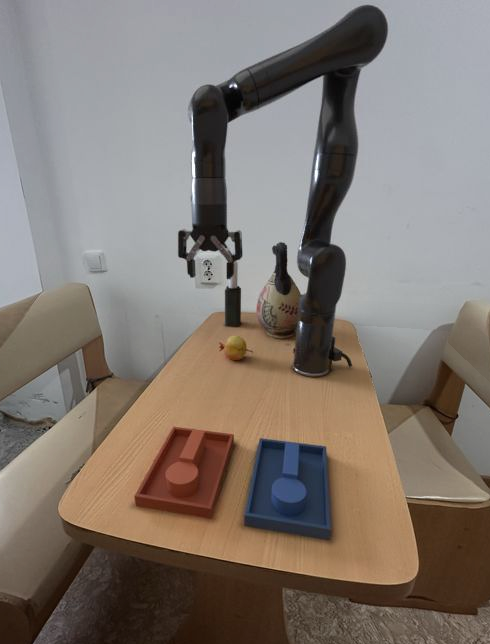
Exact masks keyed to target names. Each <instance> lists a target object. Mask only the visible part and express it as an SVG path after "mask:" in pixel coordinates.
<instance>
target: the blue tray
mask: <svg viewBox="0 0 490 644" xmlns="http://www.w3.org/2000/svg"><path fill="white" fill-rule="evenodd" d="M286 442H288V441H287V440H279V439H270V438H261V437H259V440H258V445H257V451H256V455H255V460H254V465H253V470H252V474H251V480H250V485H249V491H248V496H247V500H246V504H245V510H244V515H243V516H244V517H243V520H244V522H243V525H244V526H246V527H251V528H252V527H253V528H257V529H263V530H268V531H269V530H270V531H274V532H279V533H287V534H293V535H299V536H303V537H309V538H314V539H315V538H316V539H320V540H321V539H322V540H326V541H330V539H331V531H332V522H331V506H330V489H329V472H328V455H327V453H328V452H327V446H325V445H317V444H309V443H301V442H298V443H299V462H298V480H299V481H300V482H302V483H303V485H304V486H305V488H306V500H305V507H304V510H303V511H302V512H301V513H300V514H298V515H296V516H285V515H282V514H280V513H278V512H277V511H276V510H275V509H274V508H273V506H272V504H271V496H272V485H273V483H274V482H275V481H276V480H277V479H279V478H282V474H283V464H284V454H285V443H286ZM291 442H292V441H291ZM292 443H296V442H294V441H293V442H292Z"/></svg>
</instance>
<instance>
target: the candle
mask: <svg viewBox="0 0 490 644" xmlns="http://www.w3.org/2000/svg"><path fill="white" fill-rule="evenodd" d="M231 253H232V254H233V255H235V251H233V252H231ZM238 268H239V267H238V260H236V261H235V262H234V275H233V276H232V277H231V279H228V285H226V288H225V289H224V326H225V327H231V328H239V327H240V324H242V323H241V322H242V321H241V320H242V288H241V287H240V286H239V285H238Z"/></svg>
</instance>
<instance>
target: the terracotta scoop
mask: <svg viewBox="0 0 490 644" xmlns="http://www.w3.org/2000/svg"><path fill="white" fill-rule="evenodd" d="M192 429H193V430H192V432H191V434H190V436H189V439H188V441H187V443H186V445H185V447H184V449H183V451H182V453H181V455H180V462H177V463H174V464H172V465H171V466H170V467H169V468H168V469H167V471H166V481H167V490H168V492H169V493H170V494H171V495H173V496H175V497H187V496H190V495H192V494H193V493H195V492H196V490H197V489H198V486H199V480H198V469H197V467H198V464H199V462H200V459H201V457H202V454H203V452H204V449H205V447H206V439H205V431H206V430H204V429H203V430H204V431H203V430H202V429H196V430H195V428H192Z"/></svg>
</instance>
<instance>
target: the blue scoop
mask: <svg viewBox="0 0 490 644" xmlns="http://www.w3.org/2000/svg"><path fill="white" fill-rule="evenodd" d="M299 443H300V442H295V443H292V441H287V442H286V443H285V454H284V464H283V474H282V478H279V479H277V480H276V481H275V482H274V483H273V485H272V496H271V504H272V506H273V508H274V509H275V510H276V511H277V512H278V513H280V514H282V515H285V516H296V515H298V514H300V513H301V512H302V511H303V510H304V507H305V500H306V488H305V486H304V485H303V483H302V482H300V481H299V480H298V462H299Z"/></svg>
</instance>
